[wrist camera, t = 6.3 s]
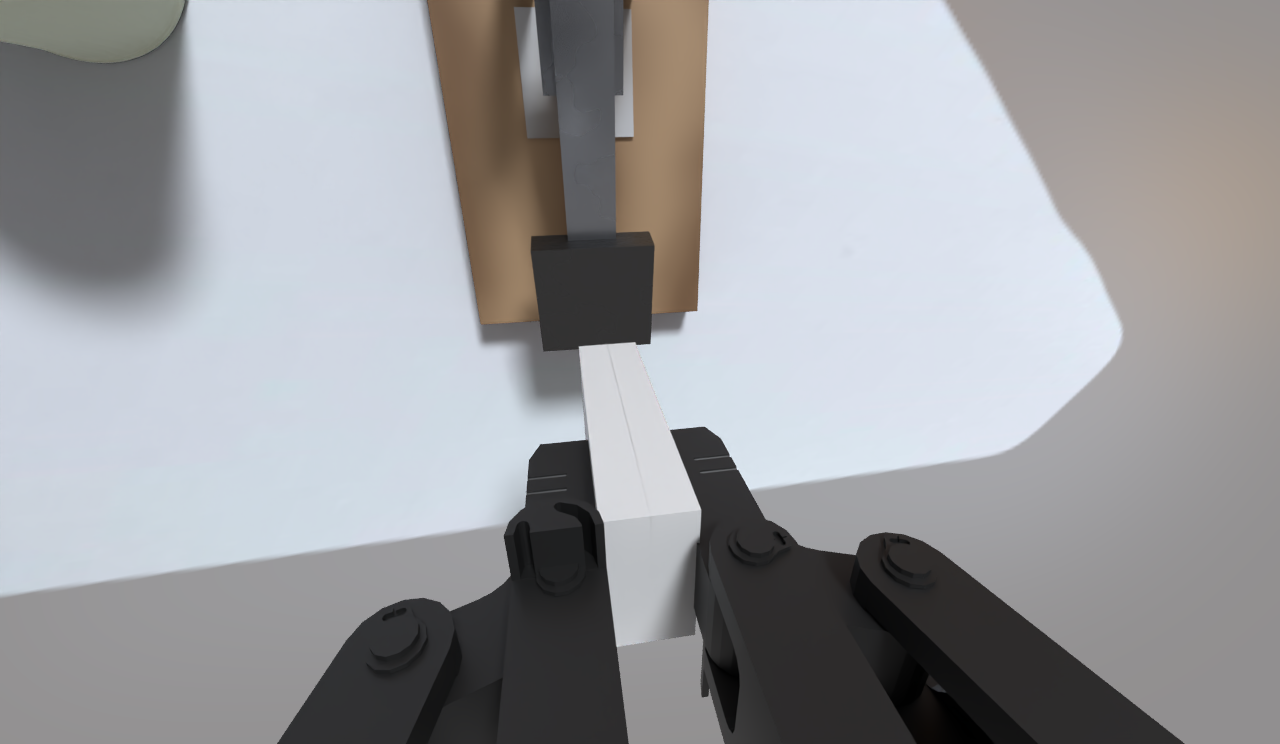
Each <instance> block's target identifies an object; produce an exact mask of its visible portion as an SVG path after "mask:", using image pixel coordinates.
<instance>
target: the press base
mask: <svg viewBox="0 0 1280 744" xmlns="http://www.w3.org/2000/svg"><path fill="white" fill-rule="evenodd" d="M427 2H428V8H429V14H430V20H431V26H432V32H433V38H434V44H435V50H436V56H437V62H438V68H439V75H440V81H441V87H442V93H443V99H444V105H445V111H446V117H447V123H448V129H449V135H450V141H451V147H452V153H453V159H454V165H455V172H456V178H457V184H458V190H459V196H460V202H461V208H462V214H463V220H464V226H465V232H466V238H467V244H468V250H469V256H470V262H471V268H472V275H473V281H474V287H475V293H476V299H477V305H478V311H479V317H480V323H481V324H497V323H513V322H529V321H540V320H539V312H538V304H537V297H536V289H535V282H534V274H533V266H532V259H531V251H530V250H531V236H546V235H567V223H566V210H565V197H564V184H563V171H562V158H561V145H560V132H559V119H558V107H557V96H543V90H542V79H541V69H540V58H539V47H538V37H537V26H536V15H535V5H534V0H427ZM708 4H709V0H623V95H615V176H616V233H619V232H643V231H649V232H650V235H651V237H652V240H653V242H654V245H655V251H654V273H653V296H652V314H657V313H673V312H689V311H697V306H698V278H699V251H700V223H701V196H702V168H703V141H704V113H705V86H706V58H707V31H708Z"/></svg>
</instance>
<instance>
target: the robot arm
mask: <svg viewBox="0 0 1280 744" xmlns="http://www.w3.org/2000/svg"><path fill="white" fill-rule="evenodd" d="M579 357H580V370H581V383H582V397H583V410H584V423H585V436H586V440H581V441H571V442H561V443H551V444H541V445H540V446H539V447H538V449H537V450H536V451H535V453H534V454H533V455H532V457H531V458H530V460H529V467H528V481H527V496H526V504H525V508H524V509H522V510H520V511H519V513H518V514H517V515H516V516H515V517H514V518H513V519H512V520H511V521H510V522H509V524H508V526H507V529H506V532H505V534H504V539H505V545H506V551H507V556H508V562H509V567H510V573H511V576H510V577H509V578H508V579H507V581H506V582H505V583H504V584H503V585H501V586H500V587H499V588H497V589H496V590H495V591H493V592H492V593H490V594H488V595H487V596H484V597H482V598H481V599H479V600H477V601H474V602H472V603H469V604H467V605H464V606H462V607H460V608H457V609H455V610H452V611H449V610H447V608H445V607H444V606H443V605H442V604H441V603H440V602H437V601H433V600H429V599H425V598H419V599H409V600H403V601H400V602H398V603H395V604H393V605H390V606H388V607H385V608H382V609H381V610H379V611H378V612H377V613H375V614H374V615H372V616H371V617H369V618H368V619H367V620H365V621H364V622H362V623H361V625H360V626H359V627H358V628H357V629H356V630H355V631H354V633H353V634H352V635H351V636H350V637H349V638H348V639H347V640H346V642H345V644H344V645H343V646H342V648H341V650H340V651H339V652H338V654H337V655H336V657H335V658H334V660H333V661H332V663H331V664H330V666H329V667H328V669H327V670H326V672H325V673H324V675H323V676H322V678H321V679H320V681H319V682H318V684H317V685H316V687H315V688H314V690H313V691H312V693H311V694H310V695H309V697H308V699H307V700H306V701H305V703H304V705H303V706H302V707H301V709H300V711H299V712H298V713H297V715H296V716H295V718H294V719H293V721H292V722H291V724H290V725H289V727H288V728H287V730H286V731H285V733H284V734H283V736H282V737H281V739H280V740H279V742H278V743H277V744H629V743H628V736H627V727H626V719H625V711H624V703H623V695H622V687H621V679H620V671H619V663H618V655H617V647H619V646H625V645H632V644H638V643H645V642H651V641H657V640H664V639H670V638H676V637H682V636H689V635H695V622H696V617H697V620H698V623H699V627H700V630H701V634H702V637H703V655H702V670H701V695H702V697H707V696H708V694H709V689H710V693H711V696H712V700H713V703H714V707H715V710H716V714H717V718H718V721H719V725H720V729H721V732H722V736H723V739H724V743H725V744H1184V743H1183V742H1182V741H1181V740H1179V739H1178V738H1177V737H1175V736H1174V735H1173V734H1172V733H1170V732H1169V731H1168V730H1166V729H1165V728H1164V727H1163V726H1161V725H1160V724H1159V723H1158V722H1156V721H1155V720H1154V719H1152V718H1151V717H1150V716H1149V715H1147V714H1146V713H1145V712H1143V711H1142V710H1141V709H1140V708H1138V707H1137V706H1136V705H1135V704H1133V703H1132V702H1131V701H1129V700H1128V699H1127V698H1126V697H1124V696H1123V695H1122V694H1121V693H1119V692H1118V691H1117V690H1116V689H1114V688H1113V687H1112V686H1110V685H1109V684H1108V683H1107V682H1105V681H1104V680H1103V679H1101V678H1100V677H1099V676H1098V675H1096V674H1095V673H1094V672H1093V671H1091V670H1090V669H1089V668H1087V667H1086V666H1085V665H1083V664H1082V663H1081V662H1080V661H1079V660H1077V659H1076V658H1075V657H1073V656H1072V655H1071V654H1069V653H1068V652H1067V651H1066V650H1065V649H1063V648H1062V647H1061V646H1059V645H1058V644H1057V643H1056V642H1054V641H1053V640H1052V639H1051V638H1049V637H1048V636H1047V635H1045V634H1044V633H1043V632H1041V631H1040V630H1039V629H1038V628H1036V627H1035V626H1034V625H1033V624H1031V623H1030V622H1029V621H1028V620H1026V619H1025V618H1024V617H1022V616H1021V615H1020V614H1019V613H1017V612H1016V611H1014V609H1012V608H1011V607H1010V606H1008V605H1007V604H1006V603H1005V602H1003V601H1002V600H1001V599H1000V598H998V597H997V596H996V595H994V594H993V593H992V592H990V591H989V590H988V589H987V588H986V587H984V586H983V585H982V584H980V583H979V582H978V581H977V580H975V579H974V578H972V577H971V576H970V575H969V574H968V573H966V572H965V571H964V570H963V569H961V568H960V567H959V566H957V565H956V564H955V563H954V562H952V561H951V560H950V559H948V558H947V557H946V556H945V555H943V554H942V553H941V552H939V551H938V550H936V549H934V548H933V547H931V546H929V545H928V544H926V543H925V542H923V541H920V540H918V539H915V538H912V537H909V536H906V535H903V534H895V533H886V532H885V533H879V534H873V535H870V536H868V537H867V538H866V539H864V540H863V541H861V542H860V545H859V548H858V550H857V553H856V555H850V554H842V553H835V552H827V551H819V550H815V549H810V548H805V547H803V546H800V545H798V544H797V542H796V541H795V540H794V538H793V537H792V536H791V535H790V534H789V533H788V532H787V531H786V530H785V529H783V528H782V527H780V526H778V525H777V524H775V523H773V522H772V521H768V520H766V519H765V518H764V516H763V514H762V512H761V510H760V509H759V507H758V505H757V503H756V501H755V500H754V498H753V496H752V494H751V492H750V491H749V489H748V487H747V485H746V483H745V481H744V480H743V478H742V476H741V474H740V472H739V471H738V470H737V469H736V465H735V463H734V462H733V460H732V458H731V457H730V456H729V453H728V451H727V449H726V447H725V445H724V443H723V442H722V440H721V438H719V437H718V436H716V435H715V434H714V433H712V432H711V431H710V430H708V429H707V428H706V427H696V428H686V429H676V430H670V429H669V427H668V424H667V422H666V419H665V417H664V414H663V411H662V409H661V406H660V404H659V401H658V399H657V396H656V394H655V391H654V389H653V386H652V384H651V381H650V378H649V376H648V373H647V371H646V368H645V366H644V363H643V361H642V358H641V356H640V353H639V351H638V348H637V345H636V343H635V342H632V343H618V344H605V345H591V346H579Z"/></svg>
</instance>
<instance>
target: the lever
mask: <svg viewBox="0 0 1280 744" xmlns="http://www.w3.org/2000/svg"><path fill="white" fill-rule="evenodd" d="M534 5H535V15H536V26H537V37H538V47H539V58H540V69H541V79H542V90H543V96H557V107H558V119H559V132H560V145H561V158H562V171H563V184H564V197H565V210H566V223H567V235H546V236H531V250H530V251H531V259H532V266H533V274H534V282H535V289H536V297H537V304H538V312H539V320H540V327H541V335H542V342H543V350H544V351H557V350H571V349H579V346H591V345H605V344H618V343H632V342H635V343H636V345H642V344H650V342H651V319H652V296H653V273H654V251H655V245H654V242H653V240H652V237H651V235H650V232H649V231H643V232H619V233H616V176H615V95H623V0H534Z"/></svg>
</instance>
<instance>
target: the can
mask: <svg viewBox="0 0 1280 744" xmlns="http://www.w3.org/2000/svg"><path fill="white" fill-rule="evenodd" d="M184 3H185V0H0V41H1V42H6V43H11V44H17V45H22V46H27V47H32V48H37V49H42V50H45V51H47V52H50V53H53V54H56V55H59V56H63V57H66V58H70V59H74V60H79V61H85V62H94V63H115V62H122V61H128V60H131V59H135V58H138V57H141V56H143V55H145V54H147V53H149V52H151V51H152V50H154V49H155V48H157V47H158V46H160V45H161V44H162V43H163V42H164V41H165V40H166V39H167V38H168V37H169V35H170V34H171V33H172V31H173V30H174V29H175V27H176V25H177V23H178V21H179V19H180V16H181V13H182V11H183V8H184Z"/></svg>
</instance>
